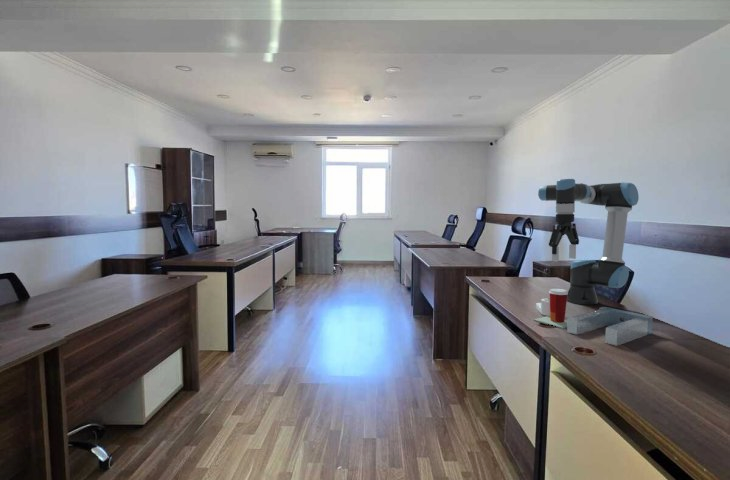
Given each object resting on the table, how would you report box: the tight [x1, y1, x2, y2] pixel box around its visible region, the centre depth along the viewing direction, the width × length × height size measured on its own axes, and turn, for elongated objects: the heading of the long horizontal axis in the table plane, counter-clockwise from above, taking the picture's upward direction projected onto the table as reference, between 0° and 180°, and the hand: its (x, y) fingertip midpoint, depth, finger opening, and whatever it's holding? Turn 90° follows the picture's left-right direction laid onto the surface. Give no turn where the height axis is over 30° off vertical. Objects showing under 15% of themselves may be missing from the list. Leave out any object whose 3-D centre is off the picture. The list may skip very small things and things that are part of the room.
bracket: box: [535, 298, 550, 317], centre depth 188 cm, size 20×9×7 cm, turn 165°
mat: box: [533, 315, 567, 330], centre depth 172 cm, size 14×14×1 cm
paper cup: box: [548, 288, 568, 323], centre depth 172 cm, size 8×8×14 cm
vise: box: [566, 306, 654, 347], centre depth 159 cm, size 37×19×7 cm, turn 121°
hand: (563, 259), depth 175 cm, fingers open, 13 cm apart
